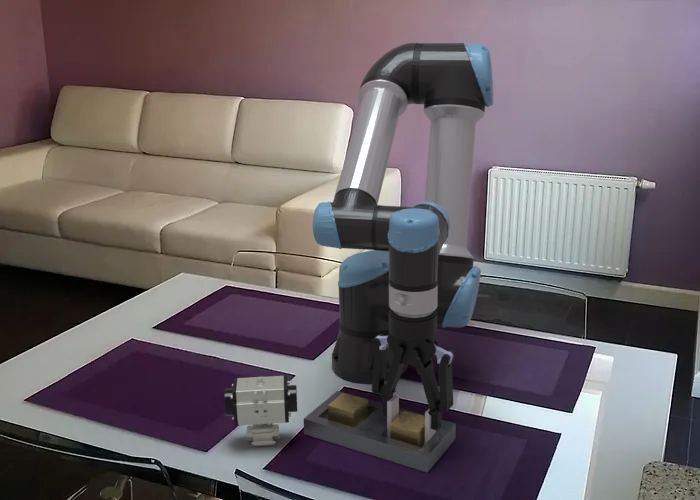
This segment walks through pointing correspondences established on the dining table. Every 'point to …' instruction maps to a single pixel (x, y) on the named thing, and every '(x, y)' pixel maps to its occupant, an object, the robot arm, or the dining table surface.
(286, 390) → the pneumatic valve
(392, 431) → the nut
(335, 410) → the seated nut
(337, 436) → the tray
